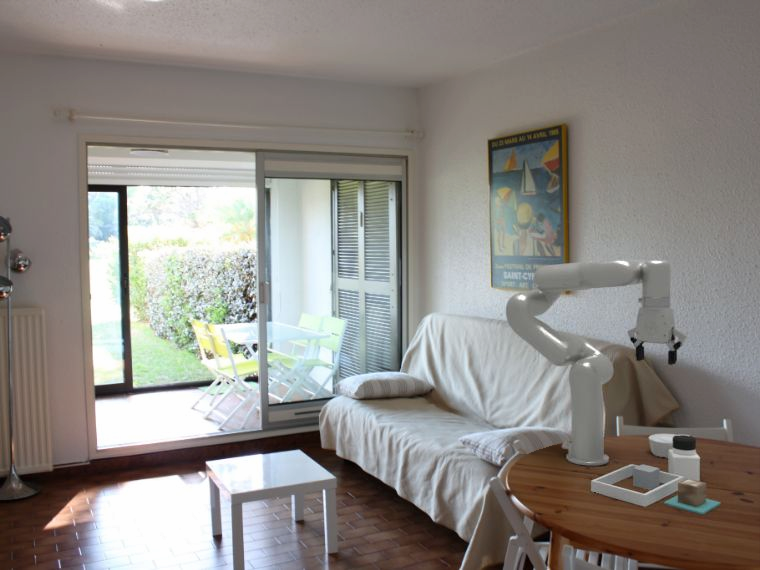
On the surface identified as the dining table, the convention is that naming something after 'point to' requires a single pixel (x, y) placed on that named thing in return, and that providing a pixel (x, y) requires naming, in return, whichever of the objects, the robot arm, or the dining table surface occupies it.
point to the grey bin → (606, 488)
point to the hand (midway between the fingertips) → (655, 362)
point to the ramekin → (661, 444)
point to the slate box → (646, 477)
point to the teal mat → (700, 510)
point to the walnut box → (692, 492)
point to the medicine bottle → (684, 458)
